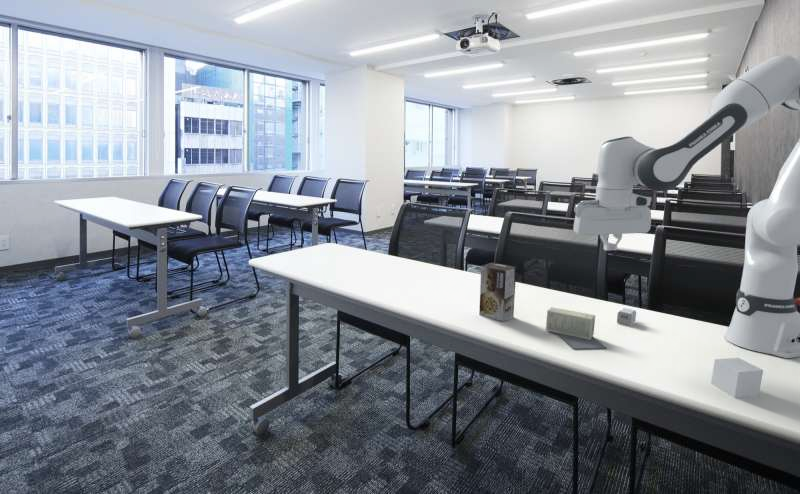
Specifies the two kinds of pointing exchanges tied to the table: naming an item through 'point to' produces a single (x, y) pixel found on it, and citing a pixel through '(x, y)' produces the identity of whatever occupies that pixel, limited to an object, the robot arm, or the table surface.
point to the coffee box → (497, 291)
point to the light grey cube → (737, 377)
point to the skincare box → (570, 323)
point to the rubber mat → (581, 342)
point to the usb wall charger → (626, 317)
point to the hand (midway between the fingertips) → (610, 250)
